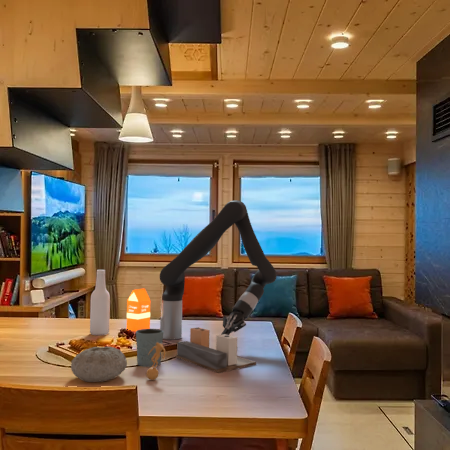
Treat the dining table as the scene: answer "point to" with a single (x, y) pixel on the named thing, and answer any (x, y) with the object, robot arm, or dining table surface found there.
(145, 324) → the orange juice
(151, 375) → the figurine
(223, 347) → the one dot button
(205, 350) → the console
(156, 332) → the blue-grey cup
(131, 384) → the dining table surface
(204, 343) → the two dot button
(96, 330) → the alcohol
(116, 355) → the grey rounded rock
